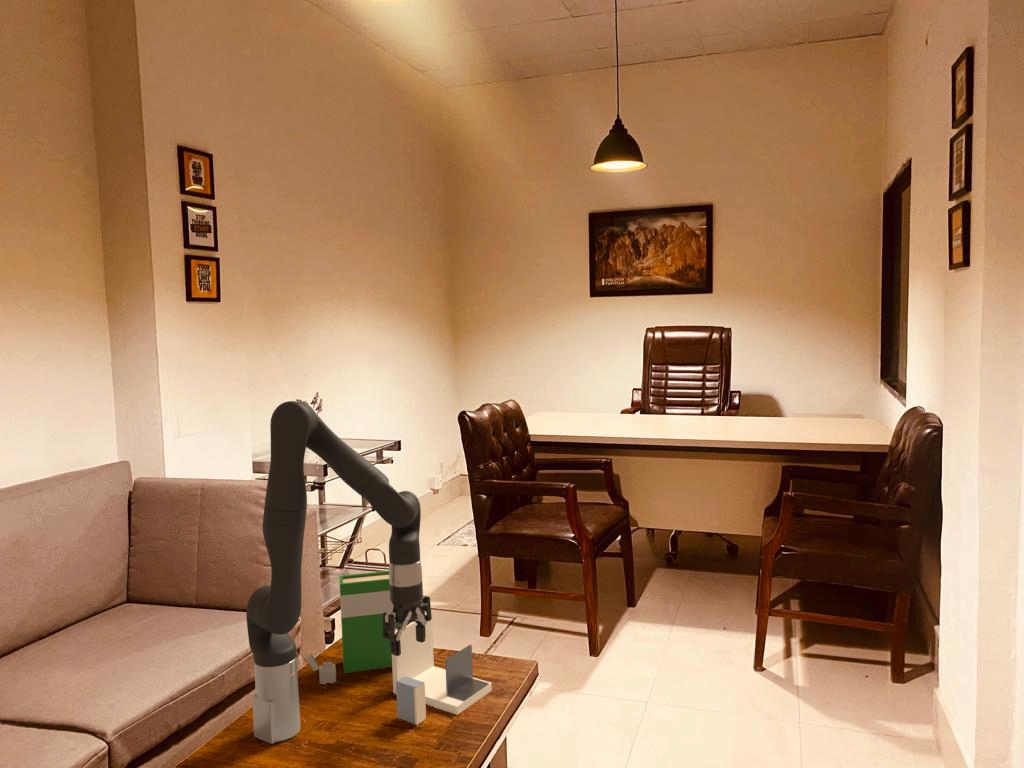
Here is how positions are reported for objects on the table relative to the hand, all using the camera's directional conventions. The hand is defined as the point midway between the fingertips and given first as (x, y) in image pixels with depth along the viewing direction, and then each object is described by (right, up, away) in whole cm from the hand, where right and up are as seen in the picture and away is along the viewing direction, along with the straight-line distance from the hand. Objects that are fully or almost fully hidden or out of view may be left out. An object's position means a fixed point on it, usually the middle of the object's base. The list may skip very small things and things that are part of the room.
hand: (408, 648), depth 183 cm
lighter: (-25, -16, +21) cm, 36 cm away
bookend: (+13, -14, +10) cm, 22 cm away
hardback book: (-13, -15, +32) cm, 37 cm away
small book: (0, -17, +1) cm, 17 cm away
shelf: (+7, -16, +14) cm, 22 cm away
